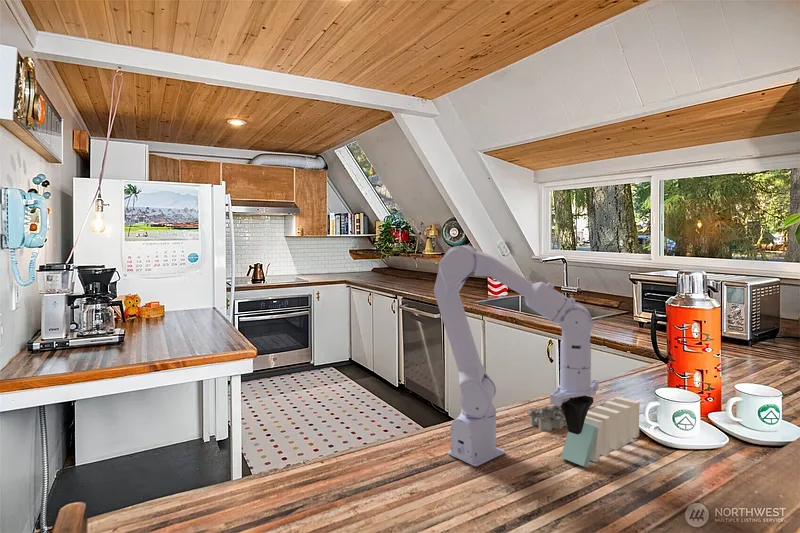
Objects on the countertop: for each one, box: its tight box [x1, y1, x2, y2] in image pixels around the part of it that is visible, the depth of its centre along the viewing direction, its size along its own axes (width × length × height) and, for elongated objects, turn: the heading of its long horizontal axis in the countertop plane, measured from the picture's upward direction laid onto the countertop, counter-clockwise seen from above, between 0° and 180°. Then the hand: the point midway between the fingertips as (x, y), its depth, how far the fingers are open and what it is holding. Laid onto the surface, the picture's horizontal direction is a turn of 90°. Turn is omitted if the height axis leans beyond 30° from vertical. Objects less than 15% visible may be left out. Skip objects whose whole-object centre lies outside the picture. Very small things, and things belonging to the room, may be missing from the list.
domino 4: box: [593, 405, 621, 451], centre depth 105 cm, size 2×5×8 cm, turn 40°
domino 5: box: [604, 400, 631, 445], centre depth 108 cm, size 2×5×8 cm, turn 40°
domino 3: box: [584, 416, 603, 463], centre depth 100 cm, size 2×5×8 cm, turn 40°
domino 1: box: [560, 423, 598, 469], centre depth 98 cm, size 2×5×8 cm, turn 41°
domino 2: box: [586, 410, 611, 457], centre depth 102 cm, size 2×5×8 cm, turn 40°
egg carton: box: [526, 405, 567, 432], centre depth 118 cm, size 11×8×4 cm
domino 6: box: [614, 396, 641, 439], centre depth 111 cm, size 2×5×8 cm, turn 40°
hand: (574, 432), depth 97 cm, fingers closed
